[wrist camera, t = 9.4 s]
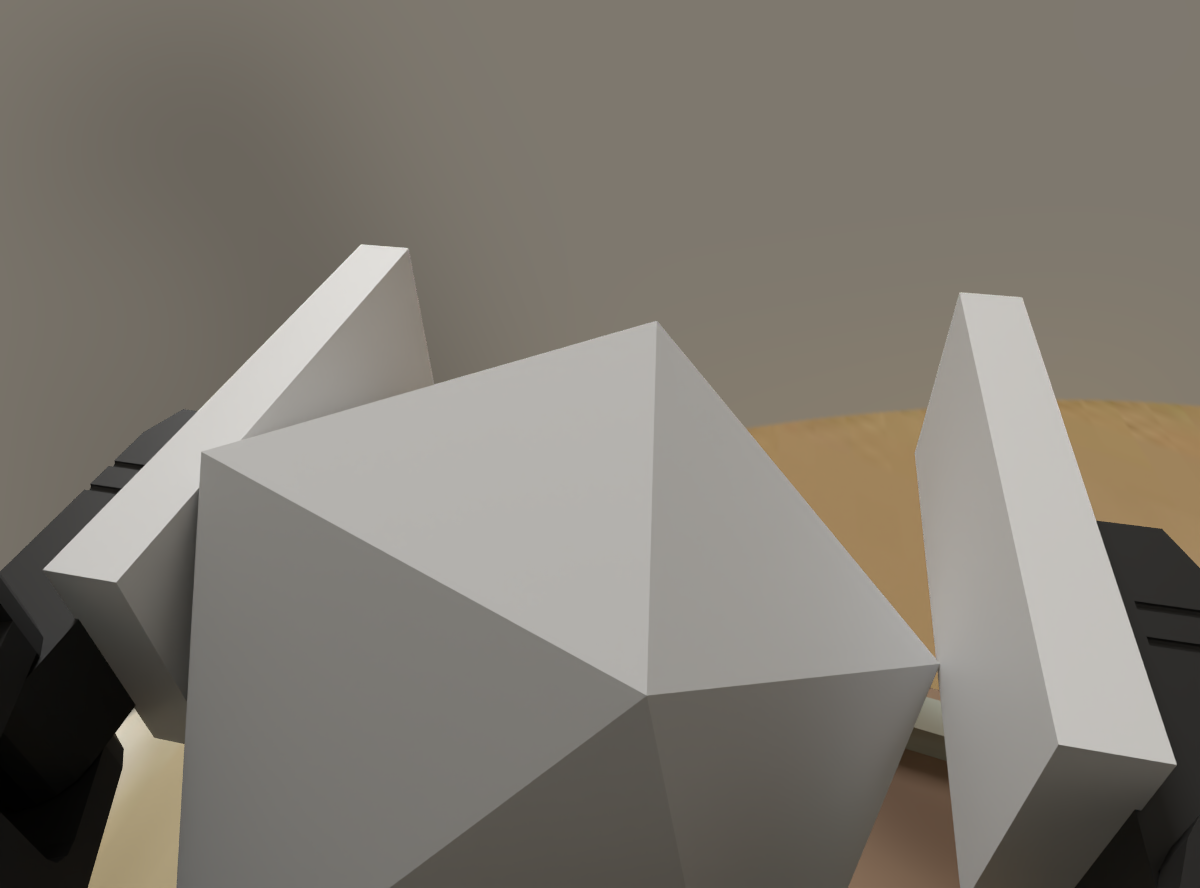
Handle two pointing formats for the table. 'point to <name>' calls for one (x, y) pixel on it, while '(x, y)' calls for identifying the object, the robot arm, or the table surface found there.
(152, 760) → the table surface
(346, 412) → the die
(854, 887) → the dice tray
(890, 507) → the table surface
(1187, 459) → the table surface
